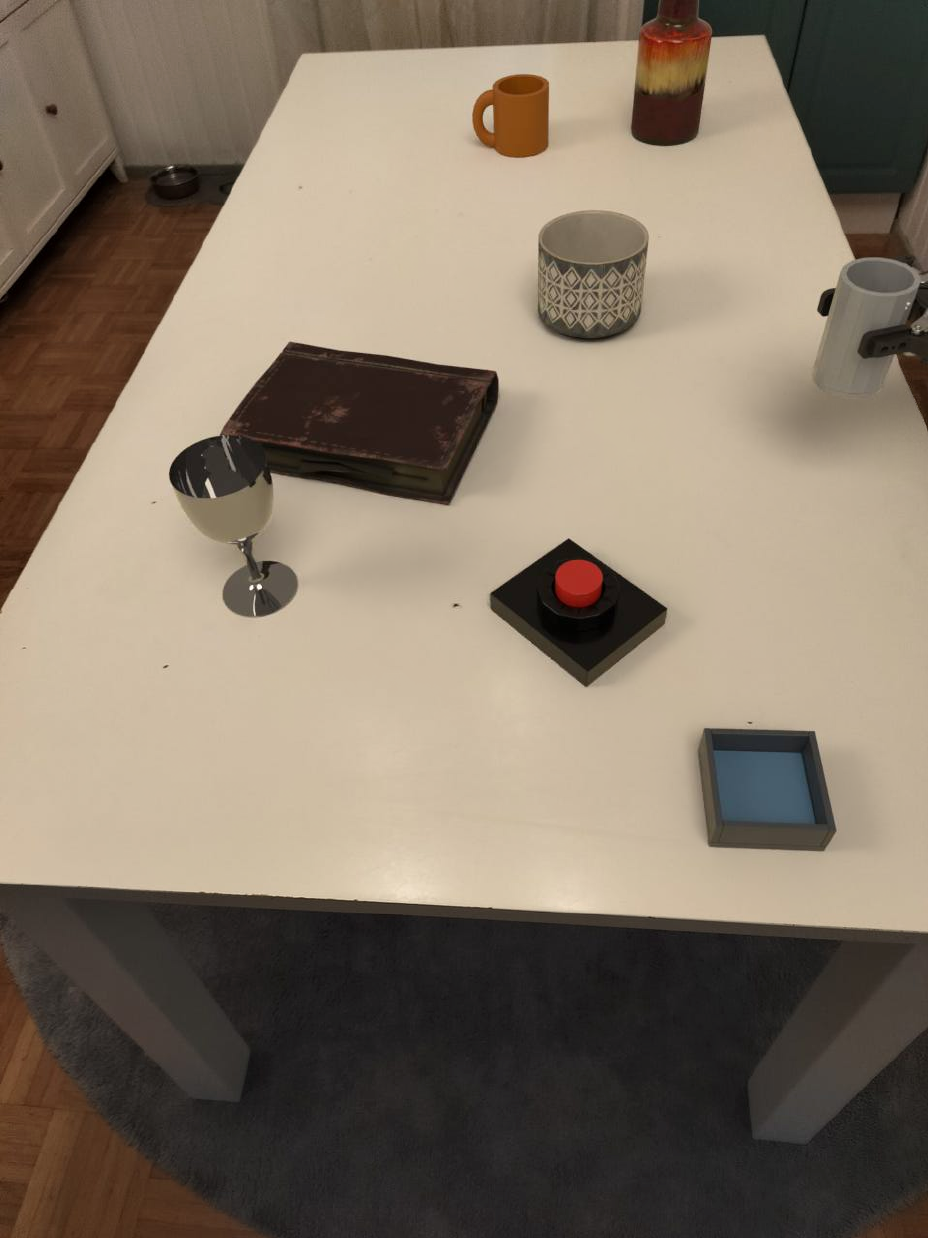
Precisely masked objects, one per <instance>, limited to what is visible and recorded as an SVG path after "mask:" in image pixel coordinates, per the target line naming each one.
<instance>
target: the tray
mask: <svg viewBox="0 0 928 1238" xmlns="http://www.w3.org/2000/svg"><path fill="white" fill-rule="evenodd" d="M697 756H698V764H699V772H700V781H701V789H702V798H703V806H704V814H705V824H706V832H707V833H706V834H707V841H708V842H707V843H708V847H709V848H731V849H756V850H780V851H781V850H783V851H807V852H809V851H810V852H825V851H826V850H827V847H828V846H829V844H830V843H831V841H832V840H833V837H834V836H835V834H836V832H837V826H836V821H835V817H834V813H833V808H832V804H831V799H830V794H829V790H828V785H827V781H826V776H825V772H824V768H823V763H822V757H821V753H820V749H819V743H818V739H817V735H816V731H815V730H793V729H792V730H789V729H756V728H755V729H754V728H753V729H752V728H720V727H719V728H718V727H717V728H714V727H711V728H710V727H704V728H703V731H702V736H701V739H700V741H699V745H698V750H697Z"/></svg>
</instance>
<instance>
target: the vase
mask: <svg viewBox="0 0 928 1238" xmlns="http://www.w3.org/2000/svg"><path fill="white" fill-rule="evenodd" d="M699 7H700V0H659V2H658V7H657V14H656V17H655V18H653V19H650V20H649V21H647V22H645V23H644V24H643V25H642V26H641V28H640V29H639V33H638V45H637V55H636V65H635V66H636V68H635V78H634V79H635V80H634V90H633V100H632V101H633V103H632V114H631V124H630V125H631V126H630V133H631V135H632V137H633V138H634V139H635V140H637V141H639V142H641V143H643V144H647V145H652V146H662V147H663V146H677V145H682V144H686V143H688V142H690V141H692V140H694V139H695V138H696V137H697V135H698V134H699V130H700V124H701V118H702V117H701V116H702V110H703V101H704V95H705V89H706V81H707V74H708V65H709V60H710V52H711V45H712V36H713V29H712V26H711V24H709V23H708V21H705V20H704V19H701V18H700V17H699V10H700V9H699Z"/></svg>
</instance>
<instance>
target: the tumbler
mask: <svg viewBox="0 0 928 1238" xmlns="http://www.w3.org/2000/svg"><path fill="white" fill-rule="evenodd" d="M920 282H921V278H920V276H919V274H918V272H917V271H916V270H914V269H913V268H911V267H910V266H909V265H907V264H904V263H902V262H899V261H896V260H892V259H889V258H886V257H880V256H878V257H876V256H875V257H861V258H857V259H853V260H851V261H849V262H847V263H845V264H844V265H842V267H841V270H840V273H839V276H838V279H837V283H836V286H835V288H836V289H835V293H834V296H833V300H832V304H831V307H830V311H829V314H828V316H827V318H826V321H825V324H824V329H823V332H822V336H821V338H820V343H819V346H818V349H817V353H816V356H815V360H814V364H813V367H812V373H811V378H812V381H813V383H814V384H815V386H816V387H817V388H819V389H820V390H821V391H823V392H825V393H826V394H828V395H830V396H833V397H836V398H841V399H846V400H847V399H848V400H861V399H867V398H870V397H873V396H875V395H877V394H878V393H880V391H881V390H882V389H883V387H884V384H885V382H886V379H887V377H888V374H889V371H890V368H891V365H892V362H893V359H894V357H895V354H894V355H889V356H884V357H880V358H867V359H863V358H862V357H861V356H860V355H859V354H858V348H859V345H860V342H861V339H862V336H863V335H864V334H865V333H866V332H868V331H873V330H878V329H883V328H888V327H893V326H898V325H902V324H905V325H906V323H907V321H908V320H907V318H908V316H909V313H910V310H911V307H912V304H913V302H914V299H915V296H916V293H917V291H918V288H919V285H920Z"/></svg>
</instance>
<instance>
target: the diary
mask: <svg viewBox="0 0 928 1238" xmlns="http://www.w3.org/2000/svg"><path fill="white" fill-rule="evenodd" d="M499 380H500V379H499V376H498V373H497V370H491V369H483V368H475V367H465V366H457V365H448V364H440V363H439V364H438V363H433V362H427V361H421V360H415V359H409V358H405V357H399V356H392V355H387V354H377V353H368V352H360V351H351V350H350V351H349V350H340V349H334V348H330V347H324V346H318V345H313V344H306V343H302V342H295V341H288V343H286V345H285V346H284V348H283V349H282V351H281V352H280V353H279V354H278V355H277V357H276V358H275V359H274V360H273V362H272V363H271V364H270V366H268V368H267V369H266V370H265V371H264V373H263V374H262V375H260V377H259V378H258V379H257V380H256V382H255V383H254V384H253V385H252V387H251V389H249V391H248V392H247V393H246V395H245V396H244V397H243V399H242V400H241V401H240V402H239V404H238V405H237V406H236V408H235V409H234V411H233V413H232V414H231V416H230V417H229V419H227V421H226V422H225V424H224V425H223V427H222V429H221V431H220V433H219V436H222V435H236V436H242V437H246V438H249V439H251V440H253V441H255V442H256V443H258V444H259V445H260V446H261V447H262V448H263V450H264V452H265V455H266V458H267V461H268V464H269V469H270V473H271V472H272V473H275V474H280V475H286V476H287V475H288V476H293V477H300V478H305V479H307V478H308V479H314V480H319V481H321V480H322V481H328V482H333V483H338V484H341V485H345V486H349V487H354V488H356V489H361V490H365V491H369V492H373V493H377V494H380V495H381V494H382V495H385V496H390V497H397V498H405V499H411V500H419V501H425V502H432V503H438V504H439V503H440V504H444V505H450V503H451V501H452V499H453V496H454V495H455V493H456V491H457V489H458V486H459V483H460V482H461V480H462V478H463V476H464V474H465V472H466V469H467V467H468V465H469V463H470V461H471V459H472V457H473V455H474V453H475V451H476V449H477V446H478V445H479V443H480V440H481V438H482V436H483V434H484V432H485V430H486V428H487V426H488V424H489V422H490V419H491V417H492V416H493V413H494V412H495V409H496V407H497V405H498V403H499V390H500V383H499Z"/></svg>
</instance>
